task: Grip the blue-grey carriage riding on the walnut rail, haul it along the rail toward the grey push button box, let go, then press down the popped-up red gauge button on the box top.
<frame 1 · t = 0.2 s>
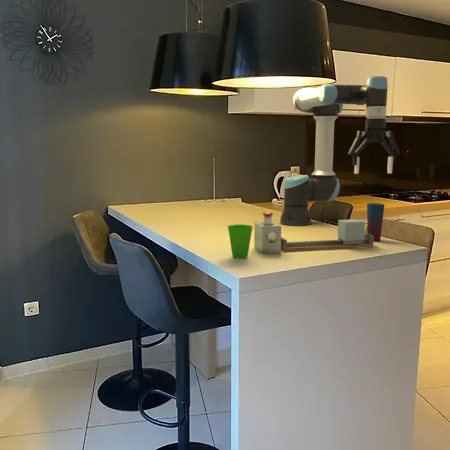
hand: (373, 173, 196), 27 cm above the countertop, fingers open, 13 cm apart
cup 2: (373, 240, 204), on the countertop
rail: (326, 247, 190), on the countertop
grey push button box: (267, 250, 184), on the countertop
carriage: (351, 231, 191), point 6 cm above the countertop, slide at 10.0 cm
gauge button: (267, 223, 183), point 10 cm above the countertop, slide at 0.0 cm
cup: (240, 257, 174), on the countertop
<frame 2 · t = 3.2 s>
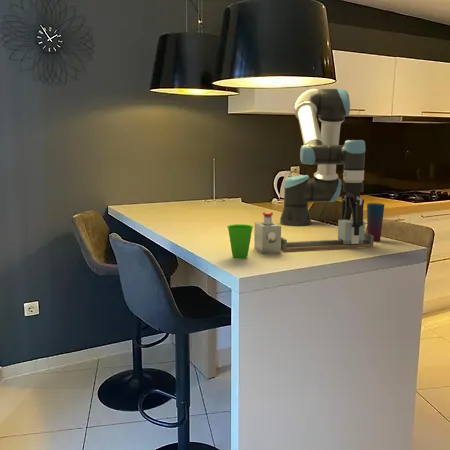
hand: (350, 241, 191), 2 cm above the countertop, fingers closed on carriage, 6 cm apart
carriage: (351, 231, 191), point 6 cm above the countertop, slide at 10.0 cm, touching gripper
everything else where it was.
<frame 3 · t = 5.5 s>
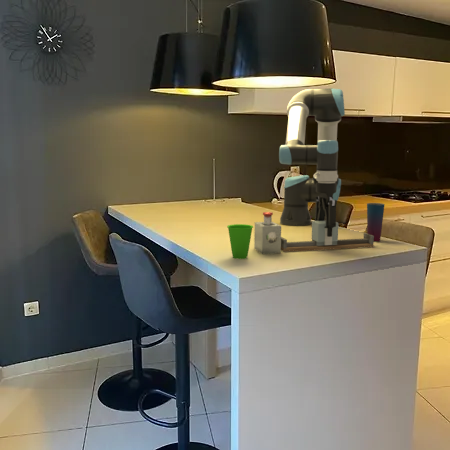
hand: (324, 242, 189), 2 cm above the countertop, fingers closed on carriage, 6 cm apart
carriage: (324, 232, 188), point 6 cm above the countertop, slide at -0.8 cm, touching gripper
everything else where it was.
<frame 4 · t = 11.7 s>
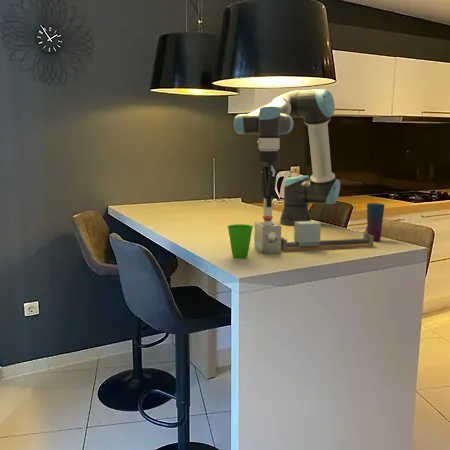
hand: (267, 215, 182), 13 cm above the countertop, fingers closed
carriage: (307, 233, 187), point 6 cm above the countertop, slide at -8.0 cm
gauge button: (267, 226, 183), point 9 cm above the countertop, slide at -1.3 cm, touching gripper
everything else where it was.
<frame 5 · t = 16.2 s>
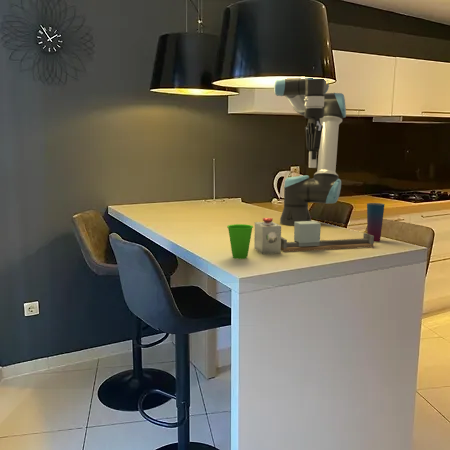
hand: (312, 167, 202), 29 cm above the countertop, fingers closed
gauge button: (267, 229, 183), point 8 cm above the countertop, slide at -2.1 cm
everything else where it was.
at the end: carriage slide at -8.0 cm; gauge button slide at -2.1 cm; the gripper is holding nothing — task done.
